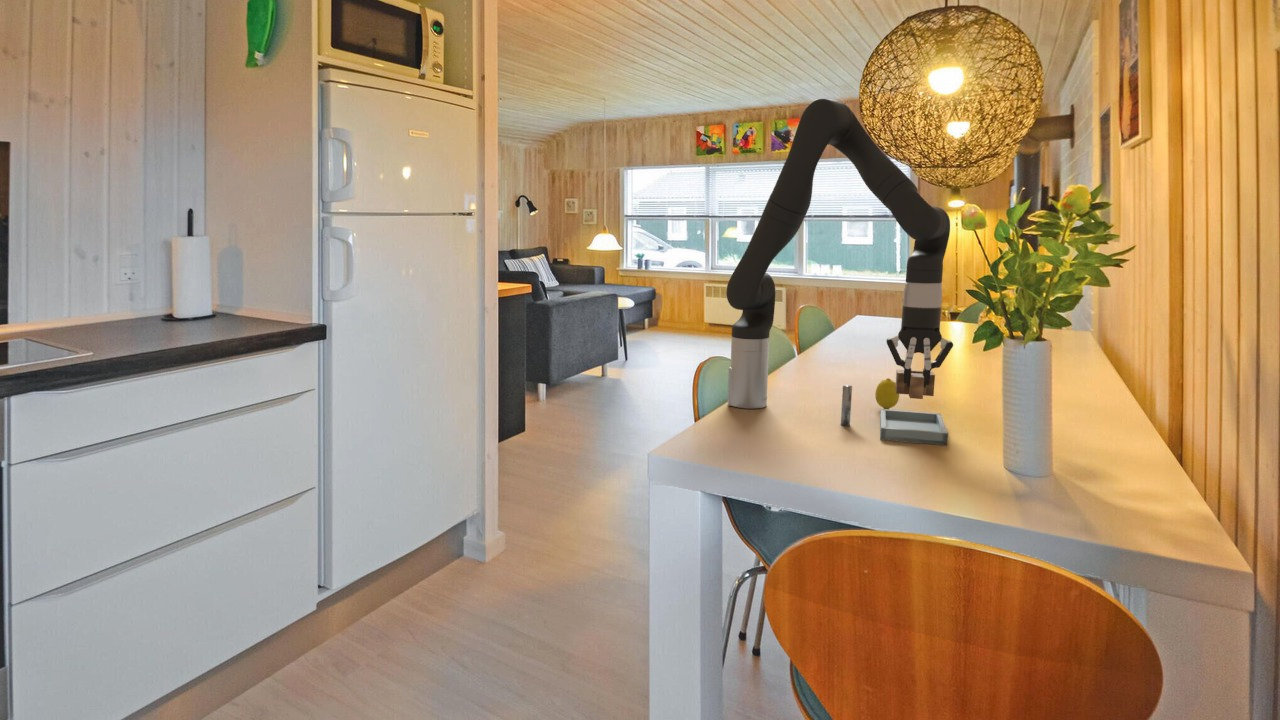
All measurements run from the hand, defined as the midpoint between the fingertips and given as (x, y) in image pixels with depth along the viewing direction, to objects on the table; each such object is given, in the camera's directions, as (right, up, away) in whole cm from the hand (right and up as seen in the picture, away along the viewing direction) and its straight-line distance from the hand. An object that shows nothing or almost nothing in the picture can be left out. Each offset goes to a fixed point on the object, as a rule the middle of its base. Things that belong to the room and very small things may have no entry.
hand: (916, 386), depth 156 cm
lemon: (+2, -7, +25) cm, 26 cm away
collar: (+1, -2, +3) cm, 4 cm away
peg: (-12, -9, +11) cm, 19 cm away
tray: (+1, -10, +6) cm, 12 cm away
